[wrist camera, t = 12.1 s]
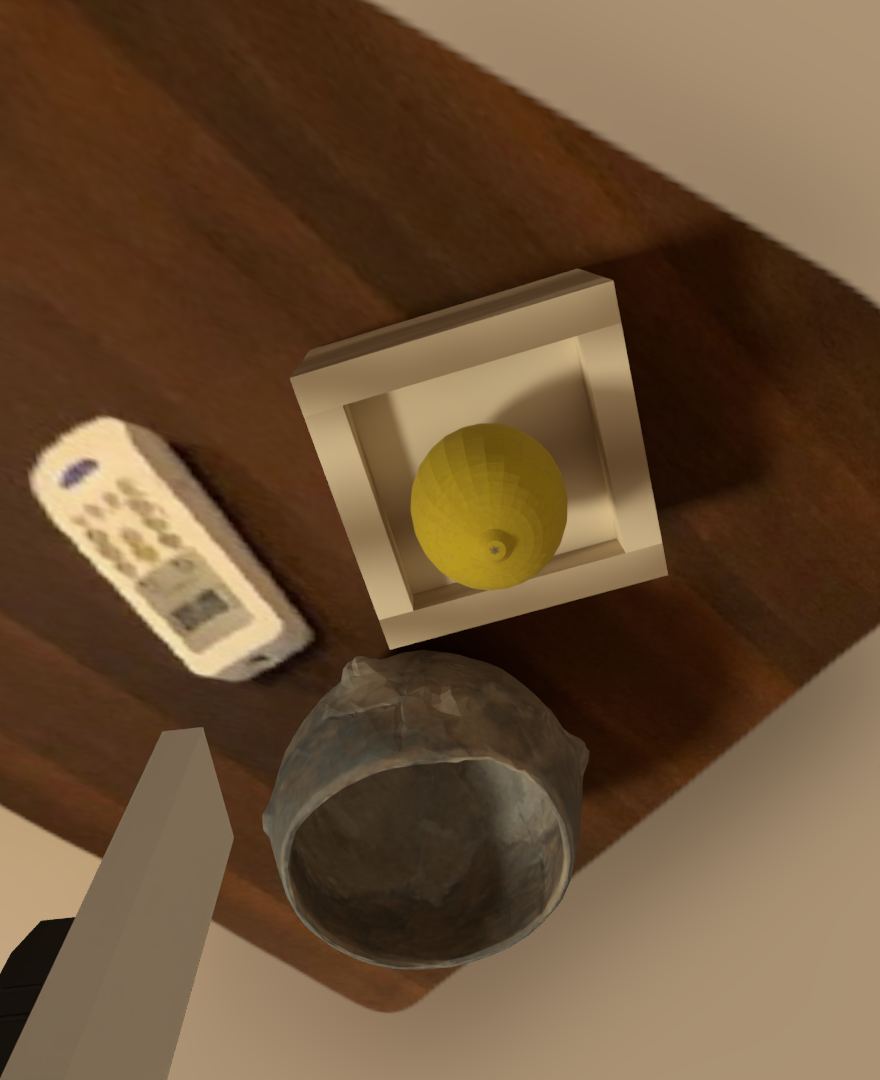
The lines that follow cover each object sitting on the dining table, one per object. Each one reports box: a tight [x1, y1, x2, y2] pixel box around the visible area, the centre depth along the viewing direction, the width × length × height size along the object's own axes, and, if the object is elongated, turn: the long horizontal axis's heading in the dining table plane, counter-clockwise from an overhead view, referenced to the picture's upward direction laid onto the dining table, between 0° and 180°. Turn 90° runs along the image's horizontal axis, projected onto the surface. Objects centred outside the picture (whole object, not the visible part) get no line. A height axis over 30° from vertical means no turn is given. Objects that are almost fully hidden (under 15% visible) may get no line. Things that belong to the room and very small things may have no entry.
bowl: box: [262, 650, 589, 969], centre depth 37 cm, size 14×15×10 cm
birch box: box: [290, 269, 668, 650], centre depth 32 cm, size 12×12×6 cm
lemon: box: [411, 423, 568, 590], centre depth 27 cm, size 6×6×8 cm
